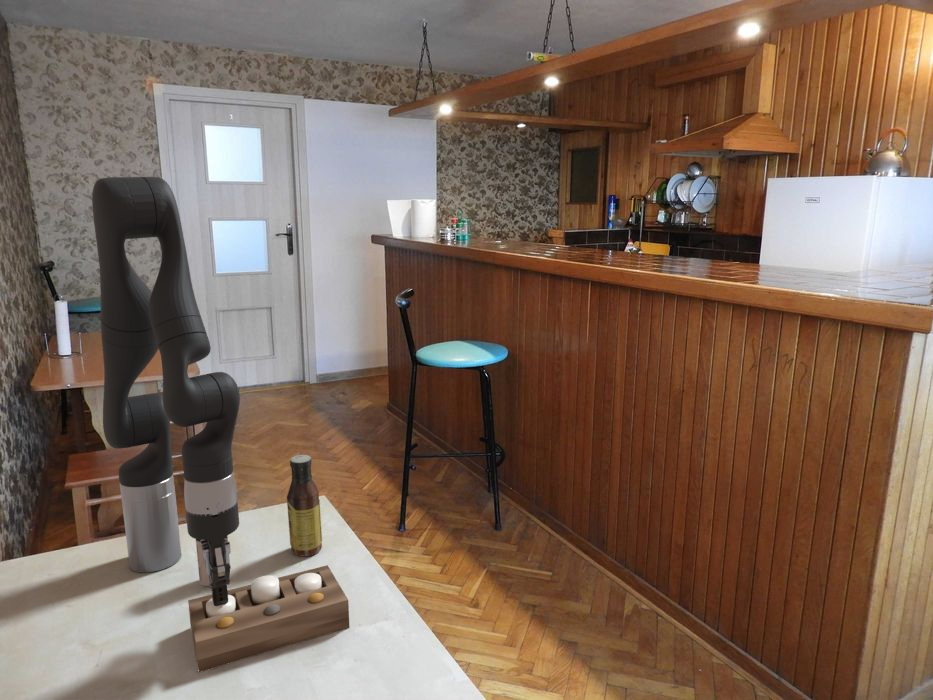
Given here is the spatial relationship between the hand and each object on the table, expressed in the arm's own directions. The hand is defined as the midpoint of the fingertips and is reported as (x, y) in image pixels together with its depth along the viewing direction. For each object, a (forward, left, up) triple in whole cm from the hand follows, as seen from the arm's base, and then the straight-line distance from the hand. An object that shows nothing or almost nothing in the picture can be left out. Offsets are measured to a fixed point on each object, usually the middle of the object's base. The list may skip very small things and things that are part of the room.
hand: (220, 602), depth 104 cm
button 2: (0, +7, -1) cm, 7 cm away
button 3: (0, +14, -3) cm, 14 cm away
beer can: (-17, 0, -6) cm, 18 cm away
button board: (+2, +7, -6) cm, 9 cm away
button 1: (0, 0, -3) cm, 3 cm away
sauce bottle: (-20, +18, -6) cm, 28 cm away
